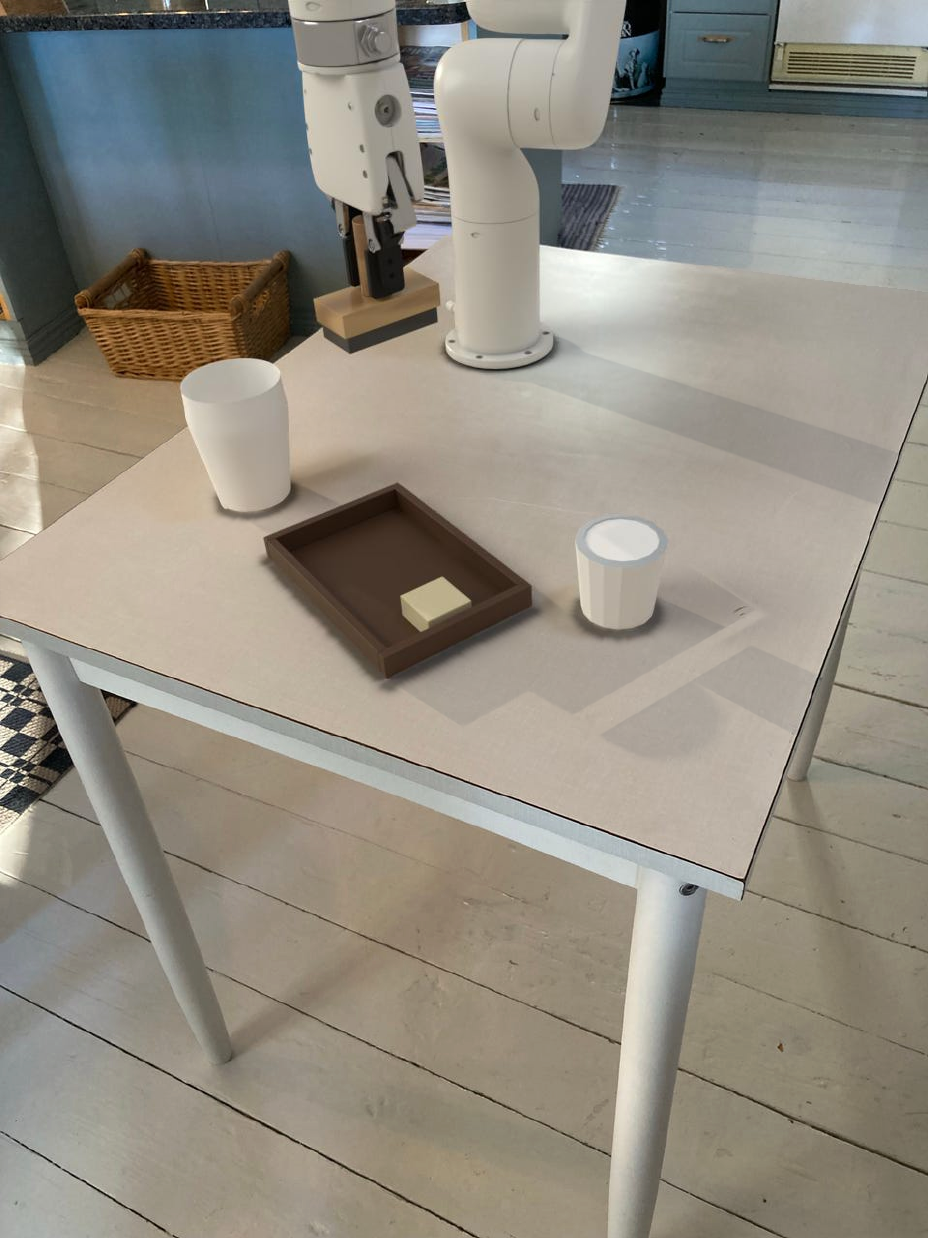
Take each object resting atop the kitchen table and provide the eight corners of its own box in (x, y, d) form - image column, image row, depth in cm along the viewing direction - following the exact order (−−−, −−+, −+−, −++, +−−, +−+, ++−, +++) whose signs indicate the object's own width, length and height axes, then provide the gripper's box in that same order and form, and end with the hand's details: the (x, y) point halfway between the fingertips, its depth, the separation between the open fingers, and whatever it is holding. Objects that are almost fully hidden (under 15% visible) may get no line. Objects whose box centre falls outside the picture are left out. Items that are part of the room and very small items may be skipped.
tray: (268, 561, 86) (262, 537, 84) (400, 505, 92) (397, 481, 90) (387, 684, 73) (383, 658, 72) (532, 611, 79) (531, 585, 77)
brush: (319, 337, 86) (301, 226, 80) (411, 305, 90) (401, 196, 84) (348, 356, 83) (331, 242, 77) (442, 321, 87) (433, 210, 81)
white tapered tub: (676, 627, 76) (684, 554, 72) (593, 648, 75) (596, 574, 71) (639, 576, 82) (644, 505, 77) (560, 595, 80) (561, 523, 76)
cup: (305, 516, 91) (283, 397, 84) (206, 529, 90) (174, 410, 83) (301, 466, 98) (281, 351, 90) (209, 478, 97) (180, 363, 90)
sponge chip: (402, 615, 78) (399, 595, 77) (444, 595, 80) (442, 575, 79) (430, 641, 76) (428, 621, 75) (472, 620, 78) (471, 600, 76)
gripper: (453, 46, 68) (469, 303, 80) (335, 17, 79) (364, 249, 91) (361, 67, 65) (391, 332, 77) (249, 35, 75) (292, 272, 88)
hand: (376, 285), depth 84 cm, fingers closed on brush, 2 cm apart
